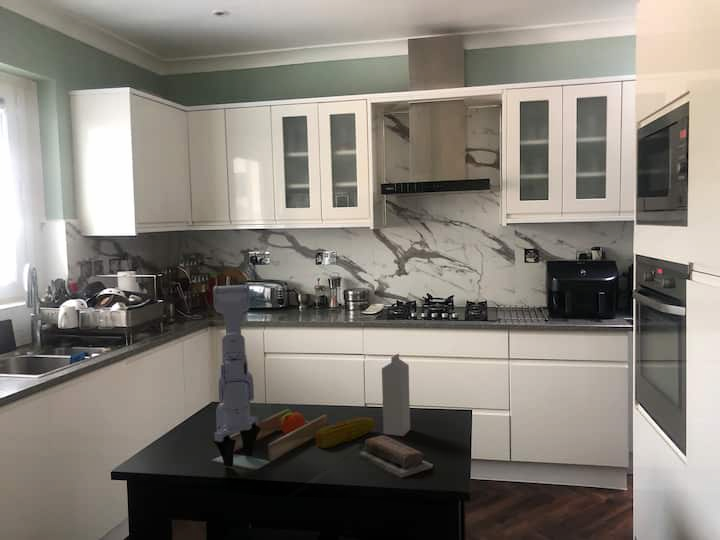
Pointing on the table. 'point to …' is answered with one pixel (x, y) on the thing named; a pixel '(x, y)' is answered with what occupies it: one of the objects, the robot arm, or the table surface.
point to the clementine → (291, 422)
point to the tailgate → (244, 462)
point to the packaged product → (394, 456)
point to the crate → (288, 440)
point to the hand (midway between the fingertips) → (238, 460)
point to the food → (343, 431)
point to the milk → (396, 397)
